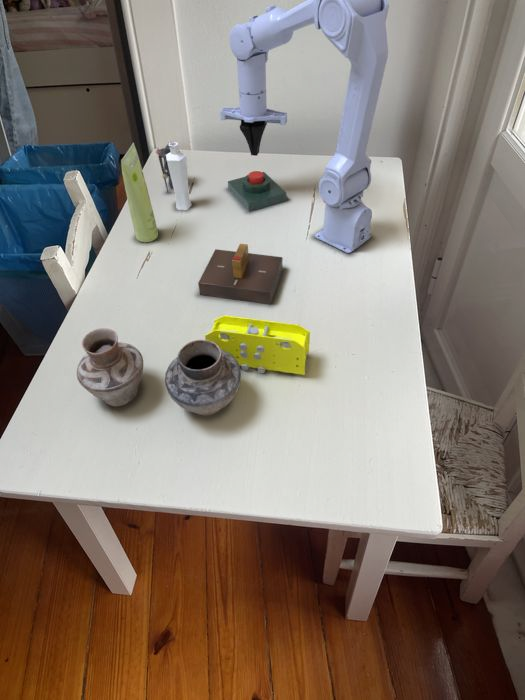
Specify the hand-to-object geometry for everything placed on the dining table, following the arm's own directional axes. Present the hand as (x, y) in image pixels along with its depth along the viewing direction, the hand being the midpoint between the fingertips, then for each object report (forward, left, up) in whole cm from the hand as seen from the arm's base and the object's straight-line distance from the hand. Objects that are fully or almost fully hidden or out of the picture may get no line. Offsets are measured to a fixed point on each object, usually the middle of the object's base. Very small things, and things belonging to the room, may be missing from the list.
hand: (255, 153), depth 111 cm
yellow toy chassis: (-38, +39, -11) cm, 55 cm away
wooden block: (-21, +26, -7) cm, 34 cm away
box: (0, 0, -10) cm, 10 cm away
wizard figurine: (+18, +11, -11) cm, 24 cm away
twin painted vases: (-32, +54, -11) cm, 64 cm away
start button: (0, 0, -7) cm, 7 cm away
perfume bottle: (+10, +15, -11) cm, 21 cm away
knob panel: (-21, +26, -10) cm, 35 cm away
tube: (+6, +29, -11) cm, 31 cm away
